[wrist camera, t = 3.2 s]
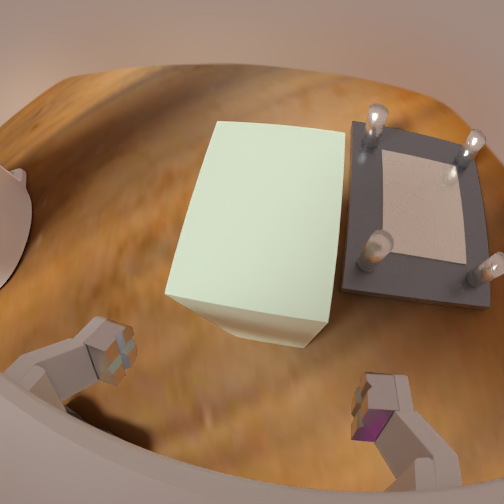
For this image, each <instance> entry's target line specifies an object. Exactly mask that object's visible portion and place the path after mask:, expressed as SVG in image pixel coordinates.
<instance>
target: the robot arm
mask: <svg viewBox="0 0 504 504" xmlns="http://www.w3.org/2000/svg"><path fill="white" fill-rule="evenodd" d="M31 219H32V204H31V199H30V196H29V194H28V192H27V189H26V172H25V171H24V170H22V169H21V168H18V169H15V170H12V171H7V170H6V169H5V168H3V167H2V166H1V165H0V288H1V287H2V286H3V284H4V283H5V282H6V281H7V280H8V278H9V277H10V276H11V274H12V272H13V271H14V269H15V267H16V266H17V264H18V262H19V260H20V257H21V255H22V253H23V250H24V248H25V245H26V242H27V238H28V235H29V231H30V226H31ZM133 336H134V332H133V328H132V327H131V326H128V325H125V324H122V323H119V322H116V321H113V320H110V319H106V318H104V317H101V316H96V317H94V318H93V319H92V320H91V321H90V322H89V323H88V324H87V325H86V326H85V327H84V328H83V329H82V330H81V331H80V332H79V333H78V334H77V335H76V336H75V337H74V338H73V339H70V338H69V339H66V340H63V341H61V342H58V343H55V344H52V345H49V346H46V347H43V348H40V349H37V350H34V351H31V352H29V353H26V354H23V355H21V356H20V357H19V358H18V359H17V360H16V361H15V362H14V363H13V364H12V365H11V366H10V367H9V368H8V369H7V370H6V371H5V372H4V373H2V372H0V504H504V477H503V478H498V479H494V480H489V481H484V482H479V483H474V484H468V485H462V479H461V472H460V466H459V460H458V455H457V454H456V452H455V451H454V450H453V449H452V448H451V447H450V446H449V445H448V444H447V443H446V442H445V440H444V439H443V438H442V437H441V436H440V435H439V434H438V433H437V432H436V431H435V430H434V428H433V427H432V426H431V425H430V424H429V423H428V422H427V421H426V420H425V419H424V418H423V416H422V415H421V414H420V413H419V412H414V407H413V401H412V396H411V391H410V385H409V380H408V377H407V375H400V374H385V373H373V372H364V373H363V374H362V376H361V379H360V386H359V387H358V388H356V391H355V393H354V396H353V400H352V407H351V414H352V415H353V417H354V420H353V422H352V424H351V440H356V441H367V442H375V445H376V447H377V448H378V450H379V452H380V453H381V455H382V457H383V458H384V460H385V462H386V463H387V465H388V466H389V468H390V470H391V471H392V473H393V475H394V476H395V478H396V481H395V482H394V483H393V484H392V485H391V486H390V487H388V488H387V489H386V490H385V491H384V492H352V491H334V490H321V489H311V488H302V487H294V486H287V485H280V484H274V483H268V482H262V481H257V480H252V479H247V478H242V477H238V476H233V475H229V474H225V473H221V472H217V471H213V470H209V469H206V468H202V467H198V466H195V465H192V464H188V463H185V462H182V461H179V460H176V459H172V458H169V457H167V456H164V455H161V454H158V453H155V452H152V451H150V450H147V449H144V448H142V447H139V446H137V445H134V444H132V443H129V442H127V441H124V440H122V439H120V438H117V437H115V436H113V435H110V434H108V433H106V432H104V431H102V430H99V429H97V428H95V427H93V426H91V425H89V424H87V423H85V422H83V421H81V420H79V419H77V418H75V417H73V416H71V415H69V414H68V413H67V412H66V409H65V407H64V405H63V404H62V402H61V401H63V400H65V399H67V398H69V397H71V396H72V395H74V394H76V393H78V392H80V391H82V390H83V389H85V388H87V387H89V386H91V385H93V384H94V383H96V382H98V380H100V381H102V382H105V383H108V384H111V385H113V386H116V387H117V386H118V385H119V383H120V382H121V381H122V379H123V378H124V376H125V370H126V369H128V368H130V367H132V365H133V364H134V362H135V360H136V356H137V345H136V343H135V342H134V340H133V339H132V337H133Z"/></svg>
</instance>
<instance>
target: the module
mask: <svg viewBox="0 0 504 504" xmlns="http://www.w3.org/2000/svg"><path fill="white" fill-rule="evenodd" d="M344 151H345V133H344V132H337V131H330V130H322V129H314V128H306V127H297V126H287V125H276V124H263V123H248V122H229V121H217V123H216V126H215V129H214V132H213V135H212V138H211V140H210V143H209V146H208V149H207V152H206V155H205V158H204V161H203V164H202V167H201V170H200V173H199V176H198V179H197V182H196V185H195V189H194V192H193V195H192V198H191V201H190V205H189V208H188V211H187V215H186V218H185V221H184V225H183V228H182V231H181V235H180V238H179V242H178V245H177V249H176V253H175V256H174V260H173V263H172V267H171V271H170V275H169V278H168V282H167V286H166V290H165V294H166V295H168V296H169V297H171V298H172V299H174V300H175V301H177V302H179V303H180V304H182V305H183V306H185V307H187V308H188V309H190V310H192V311H193V312H195V313H197V314H198V315H200V316H201V317H203V318H205V319H206V320H208V321H210V322H212V323H213V324H215V325H217V326H218V327H220V328H222V329H223V330H225V331H227V332H229V333H230V334H232V335H234V336H236V337H241V338H246V339H251V340H257V341H262V342H268V343H274V344H280V345H286V346H292V347H299V348H305V347H306V345H307V344H308V343H309V342H310V341H311V340H312V339H313V338H314V337H315V336H316V335H317V334H318V333H319V332H320V331H321V330H322V329H323V327H324V326H325V325H326V324H327V323H328V320H329V313H330V306H331V299H332V291H333V283H334V275H335V267H336V258H337V248H338V238H339V227H340V216H341V203H342V189H343V172H344Z"/></svg>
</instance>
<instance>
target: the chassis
mask: <svg viewBox="0 0 504 504" xmlns="http://www.w3.org/2000/svg"><path fill="white" fill-rule="evenodd" d="M387 116H388V110H387V108H386V107H384V106H383V105H380V104H372V105H371V106H370V109H369V113H368V117H367V121H366V123H362V122H356V121H352V126H351V148H350V177H349V196H348V212H347V225H346V237H345V248H344V259H343V268H342V277H341V286H340V292H343V293H351V294H358V295H365V296H372V297H380V298H387V299H395V300H403V301H411V302H419V303H427V304H435V305H443V306H452V307H461V308H470V309H479V310H484V309H487V308H489V307H490V281H492V280H493V279H495V278H497V277H499V276H501V275H502V274H504V253H502V252H497V253H495V254H494V255H492V256H491V257H489V251H488V239H487V230H486V221H485V214H484V207H483V200H482V194H481V189H480V183H479V178H478V173H477V168H476V164H475V159H474V158H475V156H476V155H477V154H478V152H479V151H480V149H481V148H482V146H483V145H484V143H485V142H486V138H485V136H484V134H483V133H482V132H481V131H479V130H477V129H473V130H472V131H471V132H470V134H469V136H468V137H467V139H466V141H465V142H464V144H463V145H460V144H456V143H452V142H449V141H445V140H441V139H438V138H434V137H430V136H426V135H421V134H417V133H413V132H408V131H404V130H399V129H394V128H390V127H384V126H385V123H386V120H387Z"/></svg>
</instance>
